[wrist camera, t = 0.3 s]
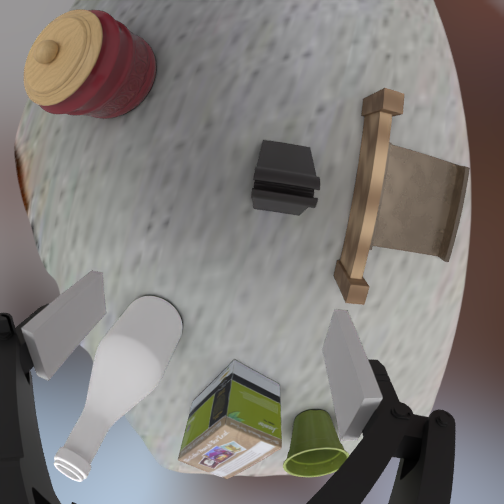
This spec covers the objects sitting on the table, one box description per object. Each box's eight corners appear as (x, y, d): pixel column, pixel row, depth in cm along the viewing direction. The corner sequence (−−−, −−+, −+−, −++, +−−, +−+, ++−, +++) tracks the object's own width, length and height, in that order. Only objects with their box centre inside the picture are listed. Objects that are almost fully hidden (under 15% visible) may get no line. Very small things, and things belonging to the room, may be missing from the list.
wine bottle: (133, 284, 44) (16, 426, 15) (190, 305, 44) (109, 479, 16) (127, 330, 47) (38, 466, 19) (178, 350, 47) (114, 506, 19)
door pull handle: (363, 98, 33) (384, 87, 25) (379, 103, 33) (404, 93, 25) (333, 275, 41) (345, 302, 34) (349, 277, 41) (364, 304, 34)
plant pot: (272, 428, 53) (271, 472, 42) (301, 395, 49) (305, 443, 39) (320, 439, 54) (325, 480, 43) (352, 408, 50) (363, 452, 40)
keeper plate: (377, 141, 35) (385, 141, 32) (458, 166, 34) (469, 168, 32) (359, 242, 39) (365, 249, 36) (439, 255, 39) (448, 262, 36)
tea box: (234, 421, 53) (226, 481, 39) (191, 400, 52) (173, 460, 38) (282, 382, 48) (283, 450, 35) (234, 356, 47) (222, 425, 33)
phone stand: (263, 139, 36) (259, 134, 24) (310, 147, 36) (327, 146, 24) (253, 207, 39) (245, 232, 27) (298, 215, 39) (309, 242, 27)
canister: (149, 23, 30) (86, -29, 14) (168, 97, 34) (99, 67, 18) (76, 62, 32) (-2, 40, 16) (91, 133, 36) (4, 135, 20)
